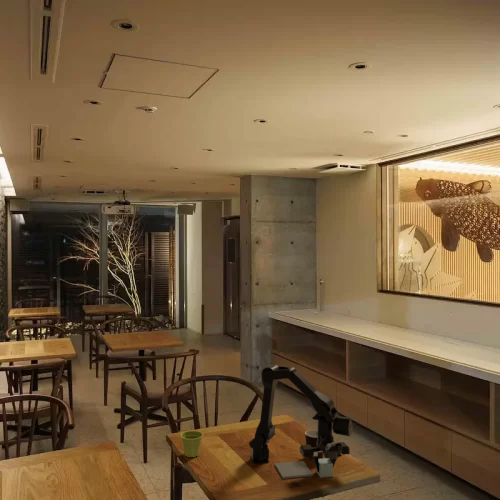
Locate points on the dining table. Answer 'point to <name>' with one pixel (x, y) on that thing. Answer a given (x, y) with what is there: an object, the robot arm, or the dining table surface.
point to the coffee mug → (312, 441)
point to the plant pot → (191, 443)
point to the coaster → (293, 469)
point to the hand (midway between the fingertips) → (324, 471)
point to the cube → (325, 468)
